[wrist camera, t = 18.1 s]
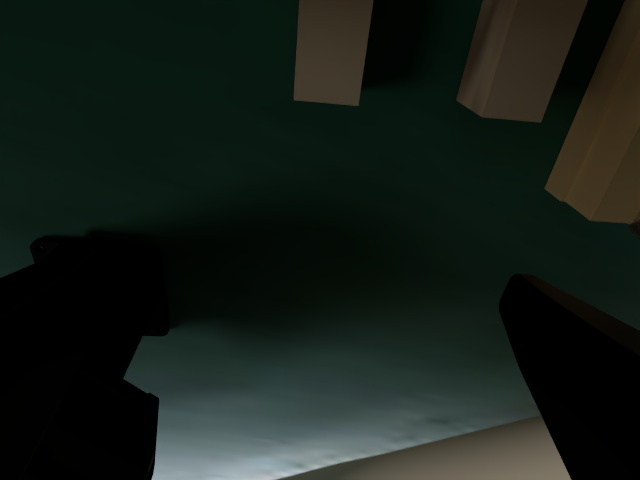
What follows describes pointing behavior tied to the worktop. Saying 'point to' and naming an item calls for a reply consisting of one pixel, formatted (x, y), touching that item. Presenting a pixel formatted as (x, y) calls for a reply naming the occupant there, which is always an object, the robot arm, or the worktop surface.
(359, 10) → the bore beam
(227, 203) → the worktop surface
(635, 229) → the axle
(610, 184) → the v block
